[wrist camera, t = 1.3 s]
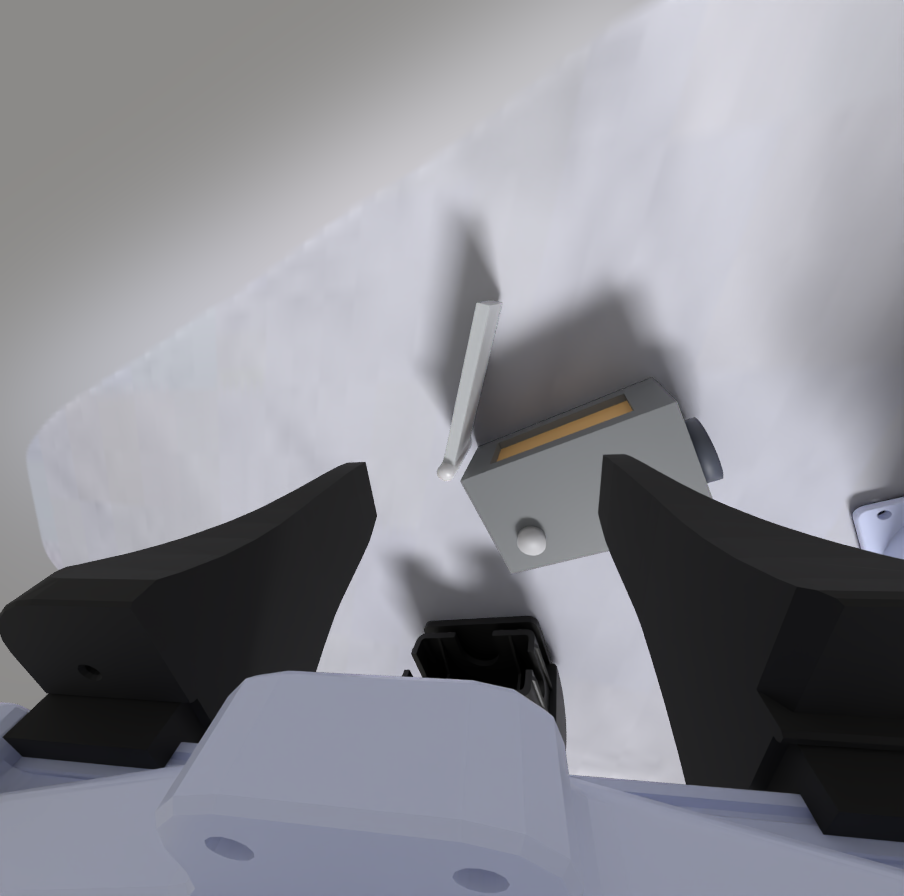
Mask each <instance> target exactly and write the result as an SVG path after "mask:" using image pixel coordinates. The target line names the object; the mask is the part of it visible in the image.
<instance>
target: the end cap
mask: <svg viewBox="0 0 904 896" xmlns="http://www.w3.org/2000/svg"><path fill="white" fill-rule="evenodd" d="M424 632H425V634H423V635H421V636H420V637H419V638H418V639H417V641H416V643H415V645H414V648H413V649H412V653H411V654H412V657H413V659H414V661H415V663H416V665H417V667H418V669H419V671H420V673H421V675H422V678H439V679H459V680H474V681H478V682H483V683H487V684H492V685H496V686H501V687H506V688H510V689H514V690H516V691H517V692H519V693H520V694H522V695H523V696H525V697H526V698H528V699H529V700H531V701H532V702H534V703H535V704H537V705H538V706H540V707H541V708H543V709H544V710H546V711H547V712H548V713H549V714H551V715H552V716H553V717H554V719H555V722H556V724H557V727H558V729H559V732H560V734H561V736H562V739H563V741H564V744H565V751H566V717H565V707H564V699H563V692H562V687H561V682H560V677H559V673H558V669H557V666H556V665H555V664H553V663H551V659H550V655H549V652H548V649H547V646H546V643H545V640H544V637H543V634H542V631H541V628H540V625H539V622H538V621H537V619H536V618H534V617H532V616H518V617H499V618H480V619H461V620H442V621H430V622H428V623H427V624H426V626H425V629H424ZM402 677H413V676H412V674H411V672H410V670H404V673H403V675H402Z"/></svg>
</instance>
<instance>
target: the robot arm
mask: <svg viewBox="0 0 904 896" xmlns="http://www.w3.org/2000/svg"><path fill="white" fill-rule="evenodd" d="M883 510H885V512H884V513H883V514H881V515H877V514H878V513H879V512H881V511H883ZM598 516H599V520H600V524H601V527H602V531H603V535H604V538H605V542H606V544H607V547H608V549H609V551H610V554H611V556H612V558H613V561H614V563H615V565H616V567H617V570H618V572H619V574H620V577H621V579H622V581H623V583H624V586H625V588H626V590H627V592H628V595H629V597H630V599H631V602H632V604H633V606H634V608H635V611H636V614H637V616H638V619H639V621H640V624H641V627H642V630H643V633H644V636H645V640H646V643H647V646H648V649H649V652H650V655H651V659H652V662H653V665H654V669H655V672H656V675H657V679H658V682H659V686H660V689H661V692H662V696H663V699H664V703H665V706H666V710H667V714H668V717H669V721H670V725H671V728H672V732H673V736H674V739H675V743H676V747H677V750H678V754H679V758H680V762H681V766H682V770H683V774H684V778H685V782H686V785H684V784H672V783H660V782H649V781H637V780H625V779H613V778H601V777H589V776H578V775H569V772H568V765H567V758H566V751H565V744H564V741H563V739H562V736H561V734H560V732H559V729H558V727H557V724H556V722H555V719H554V717H553V716H552V715H551V714H549V713H548V712H547V711H546V710H544V709H543V708H541V707H540V706H538V705H537V704H535V703H534V702H532V701H531V700H529V699H528V698H526V697H525V696H523V695H522V694H520V693H519V692H517V691H516V690H514V689H510V688H506V687H501V686H496V685H492V684H487V683H483V682H478V681H474V680H459V679H439V678H420V677H401V676H382V675H362V674H343V673H324V672H316V670H317V667H318V664H319V661H320V657H321V654H322V651H323V648H324V645H325V642H326V640H327V637H328V634H329V631H330V628H331V625H332V622H333V620H334V617H335V614H336V612H337V610H338V607H339V605H340V603H341V600H342V598H343V596H344V594H345V592H346V590H347V588H348V586H349V584H350V582H351V580H352V577H353V575H354V573H355V571H356V569H357V567H358V565H359V563H360V561H361V559H362V556H363V554H364V552H365V550H366V548H367V546H368V543H369V541H370V538H371V535H372V531H373V528H374V525H375V521H376V517H377V514H376V509H375V504H374V499H373V495H372V490H371V485H370V481H369V476H368V471H367V467H366V462H355V463H345V464H343V465H340V466H338V467H336V468H334V469H332V470H330V471H329V472H327V473H325V474H323V475H321V476H320V477H318V478H316V479H314V480H312V481H311V482H309V483H307V484H305V485H304V486H302V487H300V488H298V489H296V490H294V491H293V492H291V493H289V494H287V495H285V496H283V497H281V498H279V499H277V500H275V501H273V502H271V503H269V504H268V505H266V506H263V507H261V508H259V509H257V510H255V511H253V512H251V513H248V514H246V515H243V516H241V517H239V518H236V519H234V520H232V521H229V522H227V523H224V524H221V525H219V526H216V527H213V528H210V529H207V530H204V531H202V532H199V533H196V534H193V535H190V536H188V537H184V538H181V539H178V540H175V541H171V542H168V543H165V544H161V545H158V546H154V547H150V548H147V549H143V550H140V551H136V552H132V553H128V554H124V555H119V556H115V557H110V558H106V559H101V560H97V561H92V562H88V563H83V564H79V565H74V566H69V567H65V568H63V569H60V570H58V571H56V572H54V573H53V574H51V575H50V576H48V577H47V578H45V579H44V580H43V581H41V582H40V583H38V584H37V585H35V586H34V587H32V588H31V589H29V590H28V591H26V592H25V593H24V594H22V595H21V596H19V597H18V598H16V599H15V600H13V601H12V602H10V603H9V604H7V605H6V606H5V607H4V609H3V610H2V612H1V613H0V635H1V637H2V640H3V642H4V643H5V645H6V646H7V647H8V649H9V650H10V652H11V653H12V654H13V655H14V657H15V658H16V659H17V660H18V661H19V662H20V664H21V665H22V666H23V667H24V668H25V669H26V670H27V671H28V673H29V674H30V675H31V676H32V677H33V678H34V680H36V682H37V683H38V684H39V685H40V686H41V688H42V689H43V690H44V691H45V692H46V693H49V694H48V695H47V696H46V697H45V698H44V699H42V700H41V701H40V702H39V703H38V704H37V705H36V706H35V707H34V708H33V709H32V710H31V711H30V710H29V709H27V708H25V707H23V706H21V705H18V704H13V703H4V702H0V896H904V497H900V498H896V499H891V500H887V501H882V502H878V503H873V504H869V505H865V506H861V507H859V508H857V509H856V510H855V511H854V512H853V520H854V524H855V528H856V531H857V535H858V539H859V543H860V547H861V549H859V548H855V547H851V546H847V545H843V544H839V543H836V542H832V541H829V540H825V539H822V538H818V537H815V536H811V535H808V534H805V533H802V532H799V531H796V530H793V529H789V528H786V527H783V526H780V525H777V524H774V523H771V522H769V521H766V520H763V519H760V518H757V517H755V516H752V515H750V514H747V513H745V512H742V511H740V510H737V509H735V508H732V507H730V506H727V505H725V504H723V503H720V502H718V501H716V500H714V499H712V498H710V497H707V496H705V495H703V494H701V493H699V492H697V491H695V490H693V489H691V488H689V487H687V486H685V485H683V484H681V483H679V482H677V481H675V480H674V479H672V478H670V477H668V476H666V475H664V474H663V473H661V472H659V471H657V470H655V469H654V468H652V467H650V466H648V465H647V464H645V463H643V462H641V461H639V460H637V459H635V458H633V457H631V456H629V455H627V454H607V455H603V460H602V472H601V483H600V495H599V506H598Z"/></svg>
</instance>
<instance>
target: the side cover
mask: <svg viewBox="0 0 904 896" xmlns="http://www.w3.org/2000/svg"><path fill="white" fill-rule="evenodd" d="M501 307H502V302H497V301H493V300H489V301H483V302H477V303H476V307H475V312H474V317H473V322H472V327H471V331H470V336H469V341H468V346H467V350H466V355H465V360H464V365H463V370H462V374H461V379H460V384H459V389H458V393H457V398H456V403H455V408H454V412H453V417H452V422H451V427H450V432H449V436H448V441H447V446H446V451H445V455H444V460H443V462H442V464H441V465H440V467H439V468H438V470H437V475H438V477H439V478H440V479H441V480H443V481H451V480H452V479H453V477H454V476H455V474H456V472H457V470H458V469H459V467H460V465H461V463H462V462H463V460H464V458H465V456H466V455H467V453H468V451H469V449H470V447H471V445H472V442H471V440H470V437H471V433H472V429H473V424H474V420H475V416H476V412H477V408H478V403H479V399H480V395H481V391H482V387H483V382H484V378H485V374H486V370H487V366H488V361H489V357H490V353H491V349H492V345H493V340H494V336H495V332H496V328H497V324H498V319H499V315H500V311H501Z"/></svg>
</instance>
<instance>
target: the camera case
mask: <svg viewBox="0 0 904 896" xmlns="http://www.w3.org/2000/svg"><path fill="white" fill-rule="evenodd" d="M607 454H627V455H629V456H631V457H633V458H635V459H637V460H639V461H641V462H643V463H645V464H647V465H648V466H650V467H652V468H654V469H655V470H657V471H659V472H661V473H663V474H664V475H666V476H668V477H670V478H672V479H674V480H675V481H677V482H679V483H681V484H683V485H685V486H687V487H689V488H691V489H693V490H695V491H697V492H699V493H701V494H703V495H705V496H707V497H710V498H712V496H711V493H710V490H709V487H708V485H707V483H709V482H713V481H716V480H720V479H723V470H722V467H721V463H720V460H719V458H718V455H717V453H716V450H715V448H714V446H713V444H712V442H711V440H710V438H709V436H708V434H707V432H706V431H705V429H704V427H703V426H702V424H701V423H700V422H699V420H698V419H697V418H695V417H694V418H691V419H688V420H685V421H684V419H683V416H682V413H681V410H680V408H679V405H678V402H677V401H676V400H675V399H674V398H673V397H672V396H671V395H670V394H669V393H668V392H667V391H666V390H665V389H664V388H663V387H662V386H661V385H660V384H659V383H658V382H657V381H656V380H655V379H654V378H653V377H652V378H649V379H647V380H644V381H642V382H639V383H637V384H634V385H632V386H629V387H627V388H624V389H622V390H619V391H617V392H614V393H612V394H609V395H607V396H604V397H602V398H599V399H597V400H594V401H592V402H589V403H587V404H584V405H582V406H579V407H577V408H574V409H572V410H569V411H567V412H564V413H562V414H559V415H557V416H554V417H552V418H549V419H547V420H544V421H542V422H539V423H537V424H534V425H532V426H529V427H527V428H525V429H522V430H520V431H517V432H515V433H512V434H510V435H507V436H505V437H502V438H500V439H497V440H495V441H492V442H490V443H487V444H485V445H482V446H480V447H478V448H477V450H476V452H475V454H474V456H473V458H472V460H471V462H470V463H469V465H468V467H467V469H466V471H465V473H464V475H463V477H462V479H461V483H462V485H463V487H464V489H465V491H466V492H467V494H468V496H469V498H470V500H471V502H472V503H473V505H474V507H475V509H476V511H477V512H478V514H479V516H480V518H481V520H482V522H483V523H484V525H485V527H486V529H487V531H488V533H489V534H490V536H491V538H492V540H493V542H494V544H495V545H496V547H497V549H498V551H499V553H500V555H501V556H502V558H503V560H504V562H505V564H506V566H507V567H508V569H509V571H510V573H511V574H514V573H518V572H522V571H526V570H531V569H535V568H539V567H543V566H547V565H552V564H556V563H560V562H564V561H568V560H573V559H577V558H581V557H585V556H590V555H594V554H598V553H602V552H606V551H609V549H608V547H607V544H606V542H605V538H604V535H603V531H602V527H601V524H600V520H599V516H598V506H599V495H600V483H601V472H602V460H603V455H607ZM712 499H713V498H712Z"/></svg>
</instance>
